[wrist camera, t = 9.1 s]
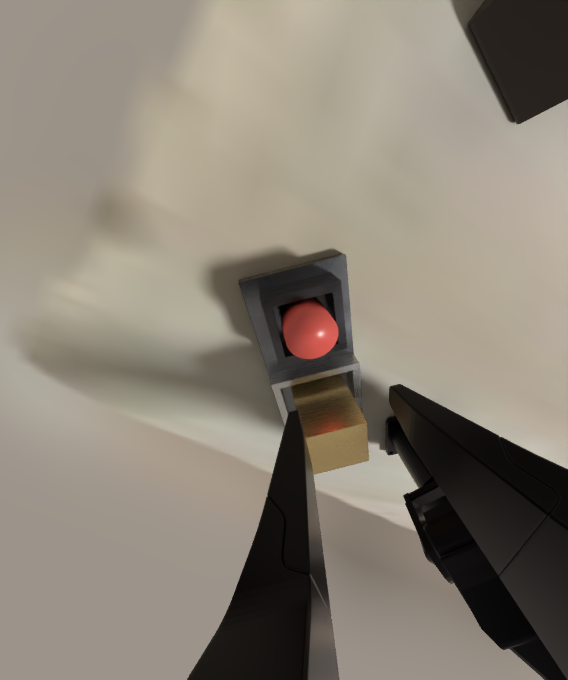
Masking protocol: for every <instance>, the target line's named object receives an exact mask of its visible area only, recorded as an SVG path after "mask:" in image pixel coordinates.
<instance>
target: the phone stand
mask: <svg viewBox="0 0 568 680" xmlns="http://www.w3.org/2000/svg"><path fill="white" fill-rule="evenodd" d="M468 25H469V27H470V29H471V31H472V33H473V35H474V37H475V39H476V41H477V43H478V45H479V47H480V49H481V51H482V53H483V56H484V58H485V60H486V62H487V64H488V66H489V68H490V70H491V72H492V74H493V76H494V78H495V80H496V82H497V84H498V86H499V88H500V91H501V93H502V95H503V97H504V99H505V101H506V103H507V105H508V107H509V109H510V111H511V113H512V115H513V117H514V119H515V121H516V123H517V124H520V123H522V122H524V121H526V120H528V119H530V118H532V117H534V116H536V115H538V114H540V113H542V112H544V111H546V110H548V109H550V108H552V107H553V106H555V105H557V104H559V103H561V102H563V101H565V100H567V99H568V0H485V1H484V2H483V4H482V5H481V6H480V8H479V9H478V10H477V12H476V13H475V15H474V16H473V17H472V19H471V20H470V22H469V23H468Z"/></svg>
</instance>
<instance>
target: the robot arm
mask: <svg viewBox="0 0 568 680" xmlns="http://www.w3.org/2000/svg"><path fill="white" fill-rule="evenodd" d="M389 403H390V405H391V407H392V409H393V411H394V413H395V415H396V417H392V418H389V419H388V420H387V421H386V453H387V454H388V455H394V454H399V456H400V458H401V459H402V461H403V463H404V464H405V466H406V468H407V469H408V471H409V473H410V474H411V476H412V478H413V479H414V481H415V483H416V484H417V486H418V488H419V489H417V490H415V491H413V492H411V493H407V494H405V495H403V496H404V499H405V501H406V503H405V505H406V507H407V509H408V511H409V514H410V516H411V518H412V521H413V523H414V525H415V528H416V530H417V532H418V535H419V538H420V541H421V544H422V547H423V551H424V553H425V556H426V558H427V559H428V561H429V562H431V563H433V564H434V565H436V567H437V568H438V569H439V571H440V572H441V574H442V575H443V576H444V578H445V579H446V580H447V581H448V582H449V583H451V584H452V583H455V585H456V587H457V588H458V590H459V591H460V593H461V595H462V596H463V598H464V599H465V601H466V603H467V604H468V606H469V608H470V609H471V611H472V613H473V615H474V616H475V618H476V620H477V622H478V623H479V625H480V627H481V629H482V630H483V631H484V632H485V633H486V634H487V635H488V636H489V637H490V638H491V639H492V640H493V641H494V642H495V643H496V644H497V645H498V646H499V647H500V648H501V649H503V650H505V649H510V650H512V651H513V652H514V653H515V654H516V655H517V656H518V657H520V658H521V659H522V660H523V661H524V662H525V663H526V664H528V665H529V666H530V667H531V668H532V669H533V670H534V671H536V672H537V673H538V674H539V675H540V676H541V677H542V678H543V679H544V680H568V469H566V468H564V467H562V466H560V465H557V464H555V463H553V462H551V461H549V460H547V459H545V458H542V457H540V456H538V455H536V454H534V453H532V452H530V451H528V450H526V449H524V448H522V447H520V446H518V445H516V444H514V443H512V442H510V441H508V440H507V439H505V438H503V437H499V435H497V434H495V433H493V432H491V431H489V430H487V429H485V428H483V427H482V426H480V425H478V424H476V423H474V422H472V421H470V420H468V419H466V418H464V417H462V416H460V415H459V414H457V413H455V412H453V411H451V410H449V409H447V408H445V407H443V406H441V405H439V404H438V403H436V402H434V401H432V400H430V399H428V398H426V397H424V396H422V395H420V394H418V393H416V392H415V391H413V390H411V389H409V388H407V387H405V386H403V385H401V384H397V385H393V386H390V388H389ZM267 495H268V496H267V498H266V501H265V505H264V509H263V512H262V516H261V519H260V523H259V526H258V529H257V532H256V535H255V538H254V541H253V543H252V546H251V549H250V552H249V554H248V557H247V560H246V562H245V565H244V568H243V571H242V573H241V576H240V579H239V582H238V584H237V587H236V590H235V592H234V595H233V597H232V600H231V603H230V605H229V607H228V610H227V612H226V614H225V616H224V618H223V620H222V622H221V624H220V626H219V628H218V630H217V631H216V633H215V635H214V636H213V638H212V640H211V641H210V643H209V644H208V646H207V648H206V649H205V651H204V653H203V654H202V656H201V658H200V659H199V661H198V662H197V664H196V666H195V667H194V669H193V670H192V672H191V674H190V675H189V677H188V679H187V680H339V673H338V666H337V658H336V649H335V641H334V634H333V626H332V619H331V610H330V602H329V594H328V587H327V579H326V571H325V563H324V555H323V547H322V539H321V531H320V523H319V516H318V508H317V500H316V492H315V484H314V476H313V469H312V463H311V458H310V454H309V450H308V446H307V442H306V438H305V434H304V429H303V425H302V422H301V418H300V414H299V411H298V410H295V411H291V412H289V413H288V416H287V420H286V424H285V428H284V432H283V436H282V440H281V443H280V447H279V451H278V455H277V459H276V463H275V467H274V470H273V474H272V479H271V482H270V486H269V490H268V494H267Z"/></svg>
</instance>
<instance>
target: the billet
mask: <svg viewBox="0 0 568 680" xmlns="http://www.w3.org/2000/svg"><path fill="white" fill-rule="evenodd" d="M291 390H292V394H293V398H294V403H295V407H296V410H298V411H299V414H300V418H301V422H302V425H303V429H304V434H305V438H306V442H307V446H308V450H309V454H310V458H311V463H312V469H313V475H314V474H318V473H322V472H326V471H330V470H334V469H338V468H342V467H346V466H350V465H354V464H357V463H361V462H365V461H369V451H368V431H367V422H366V420H365V418H364V416H363V414H362V412H361V411H360V409H359V407H358V405H357V403H356V401H355V400H354V398H353V396H352V394H351V392H350V390H349V388H348V387H347V385H346V383H345V381H344V379H343V377H342V376H341V374H336V375H332V376H328V377H324V378H320V379H316V380H312V381H309V382H305V383H301V384H297V385H293V386H291Z"/></svg>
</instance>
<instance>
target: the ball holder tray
mask: <svg viewBox="0 0 568 680" xmlns="http://www.w3.org/2000/svg"><path fill="white" fill-rule="evenodd" d="M239 284H240V288H241V291H242V294H243V297H244V300H245V303H246V306H247V309H248V312H249V315H250V318H251V321H252V324H253V327H254V330H255V333H256V336H257V340H258V343H259V346H260V349H261V352H262V355H263V358H264V361H265V364H266V367H267V370H268V373H269V376H270V379H271V386H272V389H273V392H274V395H275V398H276V401H277V404H278V407H279V410H280V413H281V416H282V419H283V422H284V425H285V424H286V420H287V416H288V413H289V412H291V411H295V410H296V407H295V403H294V398H293V394H292V390H291V386H293V385H297V384H301V383H305V382H309V381H312V380H316V379H320V378H324V377H328V376H332V375H336V374H341V376H342V377H343V379H344V381H345V383H346V385H347V387H348V388H349V390H350V392H351V394H352V396H353V398H354V400H355V401H356V403H357V405H358V407H359V409H360V411H361V412H362V397H361V381H360V365H359V362H358V360H357V359H356V357H355V356H354V353H353V340H352V327H351V313H350V300H349V287H348V274H347V261H346V255H345V254H339V255H335V256H331V257H327V258H323V259H320V260H316V261H312V262H308V263H304V264H300V265H296V266H292V267H288V268H284V269H281V270H277V271H273V272H269V273H265V274H261V275H257V276H253V277H249V278H245V279H242V280H239ZM307 298H314V299H316V300H318V301H320V302H321V303H322V304H323V306H324V307H325V308H326V310H327V311H328V312H329V314H330V315H331V316H332V318H333V319H334V320H335V322H336V324H337V326H338V339H337V341H336V343H335V345H334V347H333V348H332V349H331V350H330V351H329V352H328V353H326V354H325V355H323V356H321V357H318V358H315V359H303V358H299V357H297V356H295V355H294V354H292V353H291V352H290V350H289V349H288V347H287V345H286V341H285V338H284V334H283V330H282V326H281V315H282V312H283V310H284V309H285V307H286V306H287V305H288V304H289V303H292V302H296V301H300V300H304V299H307ZM362 414H363V413H362Z"/></svg>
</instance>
